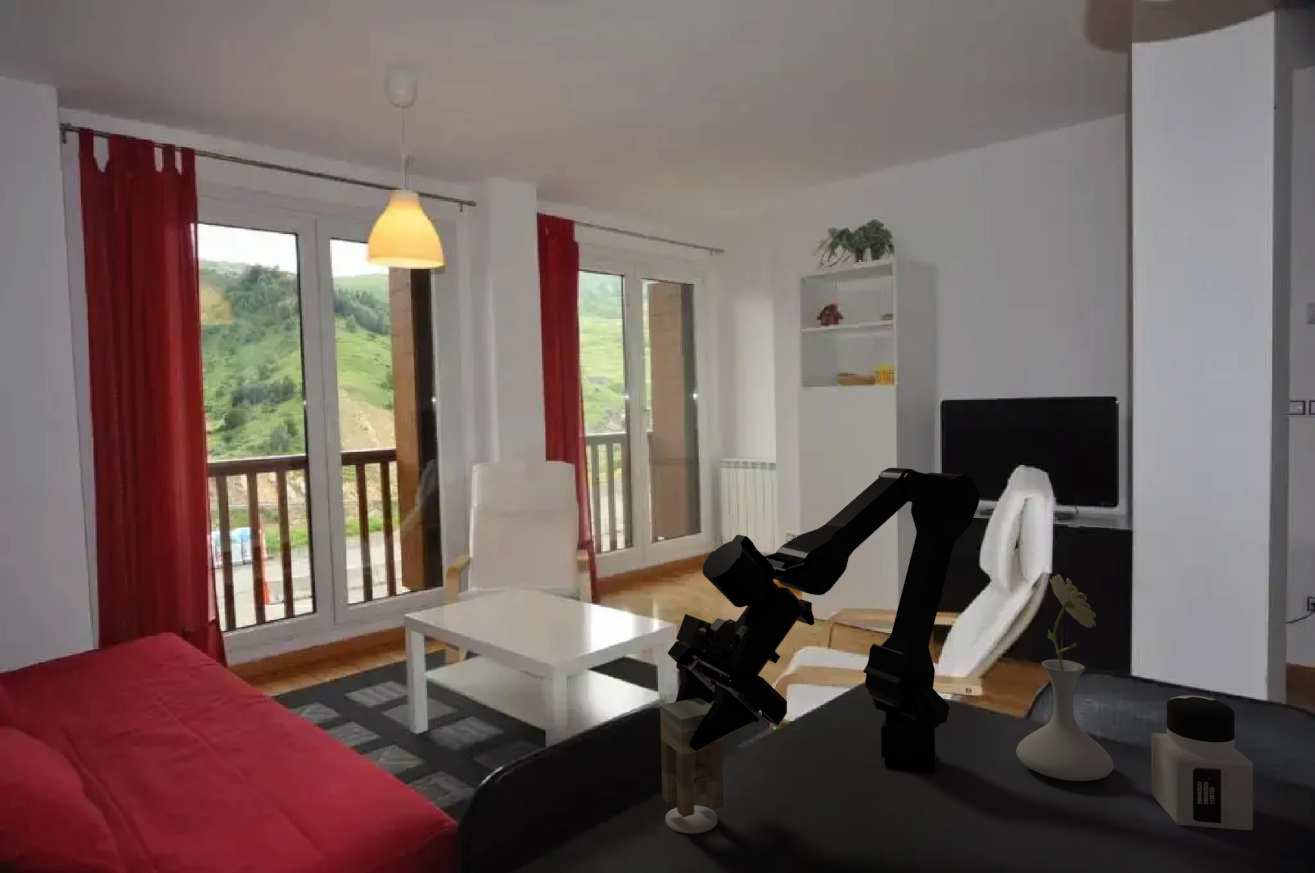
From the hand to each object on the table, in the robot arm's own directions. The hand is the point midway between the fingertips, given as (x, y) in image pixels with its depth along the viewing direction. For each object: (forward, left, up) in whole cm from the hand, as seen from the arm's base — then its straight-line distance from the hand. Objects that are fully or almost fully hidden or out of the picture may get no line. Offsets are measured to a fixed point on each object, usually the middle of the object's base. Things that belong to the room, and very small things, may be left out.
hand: (680, 739), depth 95 cm
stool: (-1, -1, -8) cm, 8 cm away
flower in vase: (-44, -27, -10) cm, 53 cm away
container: (-57, -18, -10) cm, 61 cm away
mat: (-1, -1, -10) cm, 10 cm away
